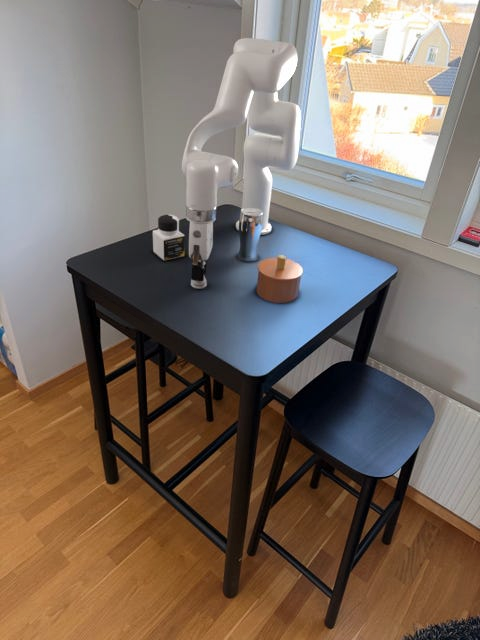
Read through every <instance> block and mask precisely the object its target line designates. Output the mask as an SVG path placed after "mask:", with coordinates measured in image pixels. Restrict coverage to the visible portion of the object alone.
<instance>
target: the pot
mask: <svg viewBox="0 0 480 640" xmlns="http://www.w3.org/2000/svg"><path fill="white" fill-rule="evenodd" d="M301 278H302V276H301V277H299V278H298V279H295V280H291V281H279V280H274V279H270V278H267V277H265V276H264V275H262V274H261V273H260V272H259V271H258V273H257V280H256V281H257V282H256V294H257V295H258V296H259V298H261V299H263V300H265V301H268V302H270V303H275V304H277V303H278V304H287V303H290V302H292V301H295V299H297V297H298V295H299V290H300V284H301Z"/></svg>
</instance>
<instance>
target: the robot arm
mask: <svg viewBox="0 0 480 640" xmlns="http://www.w3.org/2000/svg"><path fill="white" fill-rule="evenodd" d="M232 50H233V52H232V54H231V55H230V56H229V58H228V59H227V61H226V64H225V69H224V72H223V76H222V79H221V83H220V87H219V90H218V93H217V98H216V101H215V104H214V107H213V109H212V110H211V111H210V112H208V114H206V115H205V116H203V118H201V119H200V120H199V122H198V123H197V124H196V125H195V126H194V127H193V129H192V130H191V131H190V133H189V135H188V137H187V140H186V144H185V147H184V151H183V156H182V160H181V172H182V175H183V176H184V177H185V178H186V180H185V181H186V182H185V183H186V184H185V185H186V186H185V187H186V188H185V189H186V191H185V219H186V220H187V221H188V222H189V228H188V231H189V233H188V258H190V259H192V263H191V279H192V280H195V281H203V280H204V277H205V275H206V274H207V264H208V259H209V258H210V255H211V252H212V249H213V247H214V245H213V244H214V239H213V238H214V237H213V236H214V222H215V221H216V219H217V202H218V201H217V200H218V199H217V198H218V190H220V189H225V188H228V187H230V186H232V185H233V184H234V183H235V182H236V181H237V179H238V176H239V164H238V163H237V161H236V160H235V159H234V158H233V157H231V156H228V155H222V154H218V153H215V152H214V153H213V152H207V151H202V150H203V147H204V145H205V143H206V142H207V141H208V140H209V139H210V138H211V137H213V136H214V135H216V134H219V133H221V132H224V131H227V130H231V129H234V128H236V127H241V126H242V125H244V124H245V122H246V121H247V118H248V126H249V128H250V129H251V130H252V131H255V132H257V133H251V134H249V135H248V136H247V137H246V138H245V139H244V143H243V162H244V163H243V164H244V174H243V186H242V199H241V209H243V208H247V207H252V208H257V209H260V210H262V212H263V221H262V230H261V235H260V236H264V235H267V234H269V233H270V232H272V225H271V223H270V222H269V217H270V216H269V215H270V206H271V198H272V191H273V190H272V189H273V176H272V173H271V171H270V169H276V170H283V171H290V170H293V169H294V167H295V166H296V164H297V162H298V157H299V151H300V150H299V148H300V137H301V127H302V126H301V124H302V114H301V113H302V112H301V109H300V107H299V105H297V104H296V103H295V102H291V101H285V100H284V101H283V100H280V99H279V98H278V92H279V91H280V90H281V89H282V88H283V87H284V85H286V83H288V81H289V80H290V79H292V78H291V77H292V76H293V75H294V73H295V71H296V67H297V64H298V51H297V48H296V46H295V45H294V44H293V43H290V42H286V41H279V40H270V39H269V40H268V39H262V38H255V37H254V38H252V37H243V38H239V39H237V40H236V41H235V43H234V45H233V49H232ZM269 168H270V169H269ZM235 228H236V230H237V231H239V220H237V221H236V223H235ZM199 260H201V263H200V262H199ZM203 260H204V261H205V263H206V264H205V265H204V267H203Z"/></svg>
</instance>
